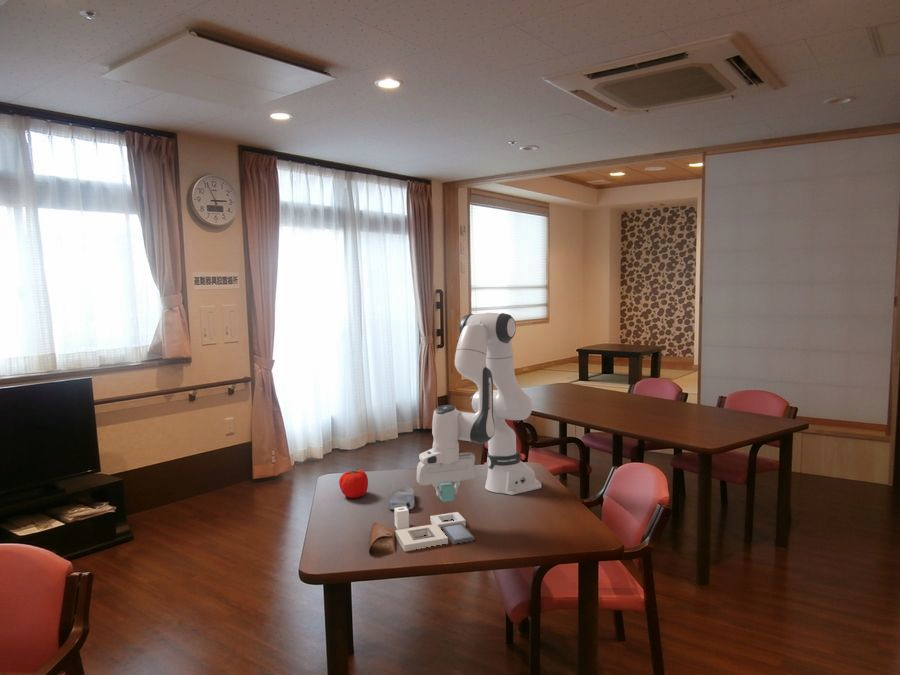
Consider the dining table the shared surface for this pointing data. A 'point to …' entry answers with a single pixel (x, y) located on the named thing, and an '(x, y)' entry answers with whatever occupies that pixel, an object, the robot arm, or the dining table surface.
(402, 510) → the charger
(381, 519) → the dining table surface
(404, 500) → the handheld device
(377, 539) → the sunglasses case
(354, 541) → the dining table surface
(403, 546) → the outlet plate
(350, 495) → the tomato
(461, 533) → the phone dock
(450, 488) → the teal small block
